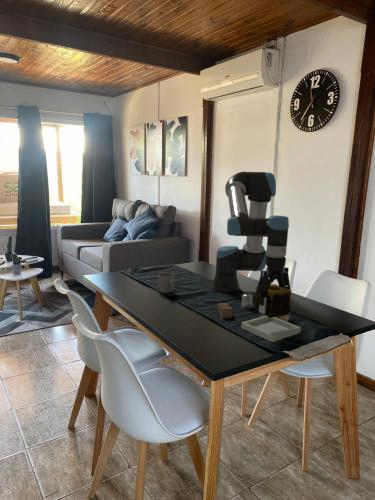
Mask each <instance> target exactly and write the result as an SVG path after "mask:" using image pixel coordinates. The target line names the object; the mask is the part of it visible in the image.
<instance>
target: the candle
mask: <svg viewBox="0 0 375 500" xmlns="http://www.w3.org/2000/svg"><path fill="white" fill-rule="evenodd" d="M256 290H257V286H256ZM256 290H255V291H256ZM291 296H292V290H291V289H290V290H289V289H287V288H284V287H281V286H279V284H276V283H275V284H271V285H270V287H269V289H268V291H267V294H266V296H265V297H266V298H267V300H266V314H263V313H260V312H259V296H256V295H255V301H254V311H256V312H258V313H260V314H262V315H263V316H268V317H269V318H273V317H278V316H283V315H288V314H289V311H291V299H292V298H291ZM289 315H290V314H289Z"/></svg>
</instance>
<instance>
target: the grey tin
mask: <svg viewBox="0 0 375 500" xmlns="http://www.w3.org/2000/svg"><path fill="white" fill-rule="evenodd" d="M253 297H254V296H253V294H252V293H242V294H241V302H240V303H241V308H242V309H244V310H250V309H252V308H253V299H254V298H253Z"/></svg>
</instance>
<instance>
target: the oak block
mask: <svg viewBox="0 0 375 500" xmlns="http://www.w3.org/2000/svg"><path fill="white" fill-rule="evenodd" d="M290 311H291V310H290ZM290 311H289V314H288V315H283V316H278V317H276V318H278V319H281V320H283V321H286V322H289V320H290V315H291V314H290Z"/></svg>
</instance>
